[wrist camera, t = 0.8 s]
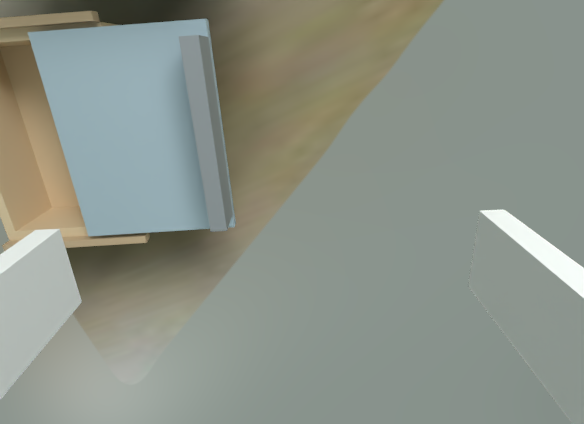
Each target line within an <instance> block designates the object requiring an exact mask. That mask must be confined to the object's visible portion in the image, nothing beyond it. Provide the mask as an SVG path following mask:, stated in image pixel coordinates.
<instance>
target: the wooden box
mask: <svg viewBox="0 0 584 424" xmlns="http://www.w3.org/2000/svg"><path fill="white" fill-rule="evenodd" d="M116 25H117V24H111V23H105V22H100V20H99V16H98V12H95V11H80V12H67V13H54V14H41V15H29V16H16V17H3V18H0V217H1V220H2V222H3V225H4V228H5V230H6V233H7V235H8V238H9V241H8V242H6V243H5V244H3V245H2V246H3V249H4V251H6V250H7V249H9V248H10V247H12V246H13V245H15V244H16V243H17V242H19V241H20V240H22V239H23V238H25V237H26V236H27V235H29V234H30V233H32V232H33V231H35V230H44V229H60V232H61V235H62V238H63V242H64V245H65V248H72V247H87V246H103V245H119V244H135V243H147V241H148V240H149V239H150V235H149V233H134V234H119V235H103V236H88V233H87V229H86V226H85V223H84V219H83V216H82V213H81V209H80V206H79V203H78V199H77V196H76V193H75V189H74V186H73V183H72V179H71V176H70V173H69V169H68V166H67V162H66V159H65V156H64V152H63V149H62V146H61V142H60V139H59V136H58V132H57V129H56V126H55V122H54V119H53V116H52V112H51V109H50V106H49V102H48V99H47V96H46V92H45V89H44V86H43V82H42V79H41V76H40V72H39V69H38V66H37V62H36V59H35V56H34V52H33V49H32V46H31V42H30V39H29V36H28V32H37V31H50V30H63V29H76V28H90V27H103V26H116Z"/></svg>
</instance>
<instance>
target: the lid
mask: <svg viewBox="0 0 584 424" xmlns="http://www.w3.org/2000/svg"><path fill="white" fill-rule="evenodd" d="M28 36H29V39H30V42H31V46H32V49H33V52H34V56H35V59H36V62H37V66H38V69H39V72H40V76H41V79H42V82H43V86H44V89H45V92H46V96H47V99H48V102H49V106H50V109H51V112H52V116H53V119H54V122H55V126H56V129H57V132H58V136H59V139H60V142H61V146H62V149H63V152H64V156H65V159H66V162H67V166H68V169H69V173H70V176H71V179H72V183H73V186H74V189H75V193H76V196H77V199H78V203H79V206H80V209H81V213H82V216H83V219H84V223H85V226H86V229H87V233H88V236H103V235H119V234H134V233H150V232H166V231H181V230H197V229H210V231H211V232H213V231H227V229H228V227H235V224H236V222H235V214H234V207H233V199H232V192H231V185H230V177H229V170H228V163H227V155H226V148H225V141H224V133H223V126H222V118H221V111H220V104H219V96H218V89H217V82H216V74H215V67H214V60H213V52H212V45H211V37H210V30H209V23H208V19H194V20H181V21H168V22H155V23H142V24H129V25H116V26H103V27H90V28H76V29H63V30H50V31H37V32H28Z"/></svg>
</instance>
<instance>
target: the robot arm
mask: <svg viewBox="0 0 584 424" xmlns="http://www.w3.org/2000/svg"><path fill="white" fill-rule="evenodd" d="M468 287H469V288H470V290H471V291H472V292H473V294H474V295H475V296H476V298H477V299H478V300H479V302H480V303H481V304H482V305H483V307H484V308H485V309H486V311H487V312H488V313H489V315H490V316H491V317H492V319H493V320H494V321H495V323H496V324H497V325H498V327H499V328H500V329H501V331H502V332H503V333H504V334H505V336H506V337H507V338H508V340H509V341H510V342H511V344H512V345H513V346H514V348H515V349H516V350H517V352H518V353H519V354H520V355H521V357H522V358H523V360H524V361H525V362H526V364H527V365H528V366H529V368H530V369H531V370H532V372H533V373H534V374H535V375H536V377H537V378H538V379H539V381H540V382H541V383H542V384H543V386H544V387H545V389H546V390H547V391H548V392H549V394H550V395H551V397H552V398H553V399H554V401H555V402H556V403H557V404H558V406H559V407H560V408H561V410H562V411H563V412H564V414H565V415H566V416H567V418H568V419H569V420H570V422H571V423H572V424H584V268H583V267H582V266H580V265H579V264H577V263H576V262H575V261H573V260H572V259H571V258H569V257H568V256H567V255H565V254H564V253H562V252H561V251H560V250H558V249H557V248H556V247H554V246H553V245H552V244H550V243H549V242H547V241H546V240H545V239H543V238H542V237H541V236H539V235H538V234H537V233H535V232H534V231H533V230H531V229H530V228H529V227H527V226H526V225H524V224H523V223H522V222H520V221H519V220H518V219H516V218H515V217H514V216H512V215H511V214H510V213H508V212H507V211H505V210H484V211H479V217H478V223H477V230H476V236H475V243H474V249H473V256H472V263H471V269H470V276H469V282H468ZM81 302H82V301H81V297H80V294H79V291H78V288H77V284H76V281H75V278H74V274H73V271H72V268H71V265H70V261H69V258H68V255H67V251H66V248H65V245H64V242H63V238H62V235H61V232H60V229H44V230H35V231H33V232H32V233H30V234H29V235H27V236H26V237H25V238H23V239H22V240H20V241H19V242H17V243H16V244H15V245H13V246H12V247H10V248H9V249H7V250H6V251H5V252H3V253H2V254H0V399H1V398H2V397H3V396H4V395H5V393H6V392H7V391H8V390H9V388H10V387H11V386H12V385H13V384H14V383H15V381H16V380H17V379H18V378H19V377H20V375H21V374H22V373H23V372H24V371H25V369H26V368H27V367H28V366H29V364H30V363H31V362H32V361H33V360H34V359H35V357H36V356H37V355H38V354H39V352H40V351H41V350H42V349H43V348H44V347H45V345H46V344H47V343H48V342H49V341H50V340H51V338H52V337H53V336H54V335H55V334H56V332H57V331H58V330H59V329H60V327H61V326H62V325H63V324H64V323H65V322H66V320H67V319H68V318H69V317H70V316H71V314H72V313H73V312H74V311H75V310H76V308H77V307H78V306H79V305H80V304H81Z"/></svg>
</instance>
